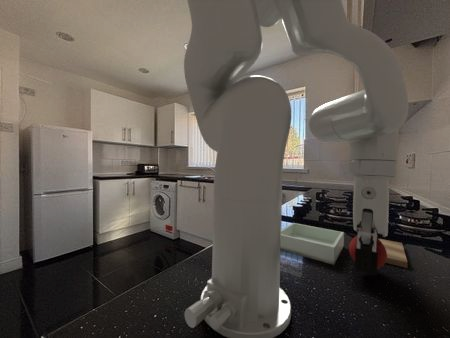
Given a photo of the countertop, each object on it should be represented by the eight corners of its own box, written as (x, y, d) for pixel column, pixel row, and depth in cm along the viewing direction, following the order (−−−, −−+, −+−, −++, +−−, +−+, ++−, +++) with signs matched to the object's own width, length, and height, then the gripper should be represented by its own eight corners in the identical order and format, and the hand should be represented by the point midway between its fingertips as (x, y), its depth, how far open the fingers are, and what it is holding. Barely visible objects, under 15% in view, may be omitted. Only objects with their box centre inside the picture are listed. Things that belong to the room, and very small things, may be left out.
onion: (372, 265, 40) (374, 225, 40) (394, 280, 35) (396, 235, 35) (342, 262, 41) (344, 223, 41) (358, 277, 35) (360, 232, 35)
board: (407, 268, 41) (407, 262, 41) (354, 255, 46) (355, 250, 46) (401, 247, 52) (402, 243, 52) (360, 239, 57) (360, 235, 57)
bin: (333, 264, 41) (334, 247, 41) (274, 247, 49) (274, 233, 49) (343, 246, 52) (343, 232, 52) (292, 234, 60) (293, 222, 60)
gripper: (400, 170, 29) (394, 295, 29) (394, 172, 42) (390, 257, 42) (340, 168, 33) (336, 276, 33) (352, 171, 47) (349, 247, 47)
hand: (366, 264), depth 38 cm, fingers closed on onion, 5 cm apart
